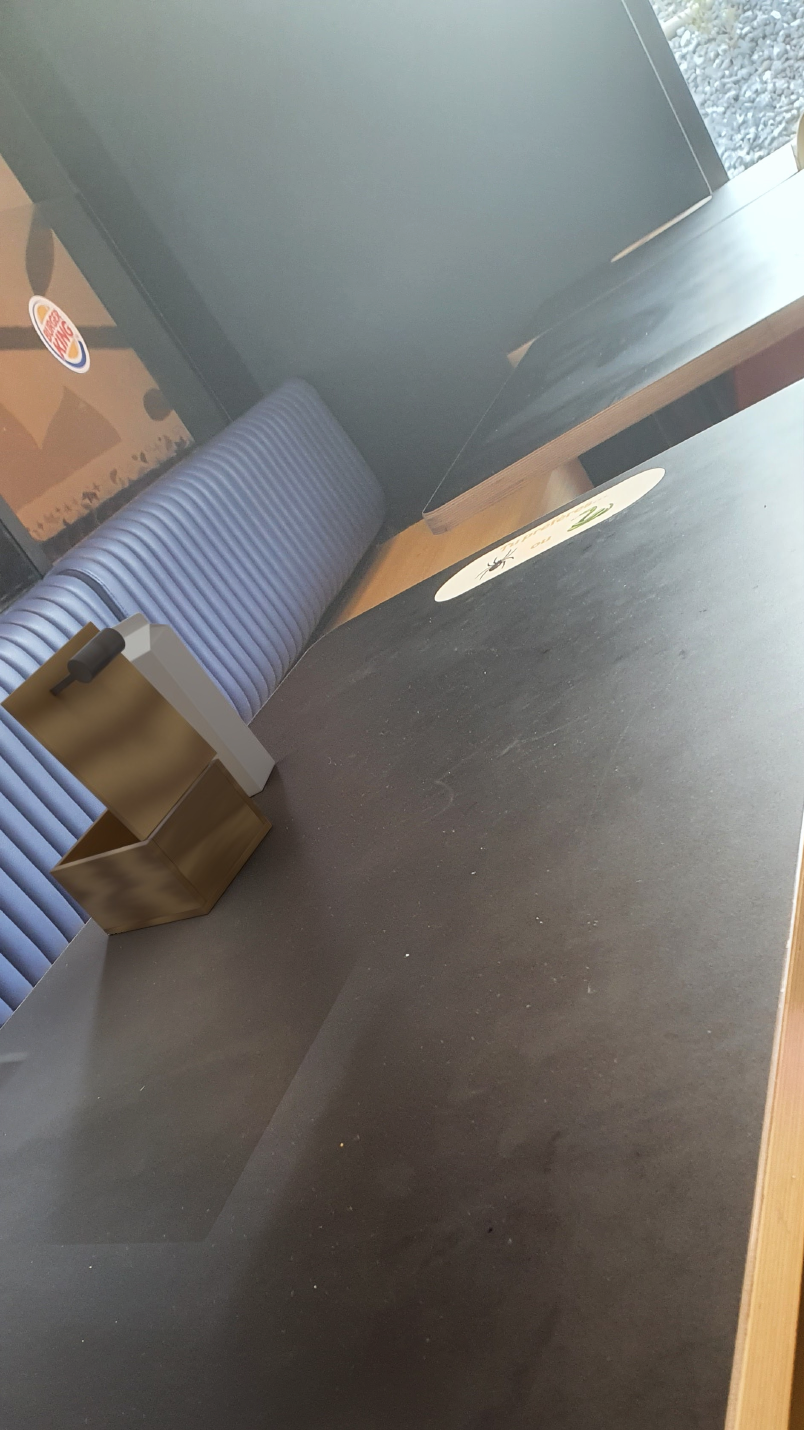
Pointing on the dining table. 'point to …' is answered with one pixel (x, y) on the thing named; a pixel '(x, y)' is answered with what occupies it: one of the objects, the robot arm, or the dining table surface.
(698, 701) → the dining table surface
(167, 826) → the chest
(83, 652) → the lid
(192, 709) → the milk
